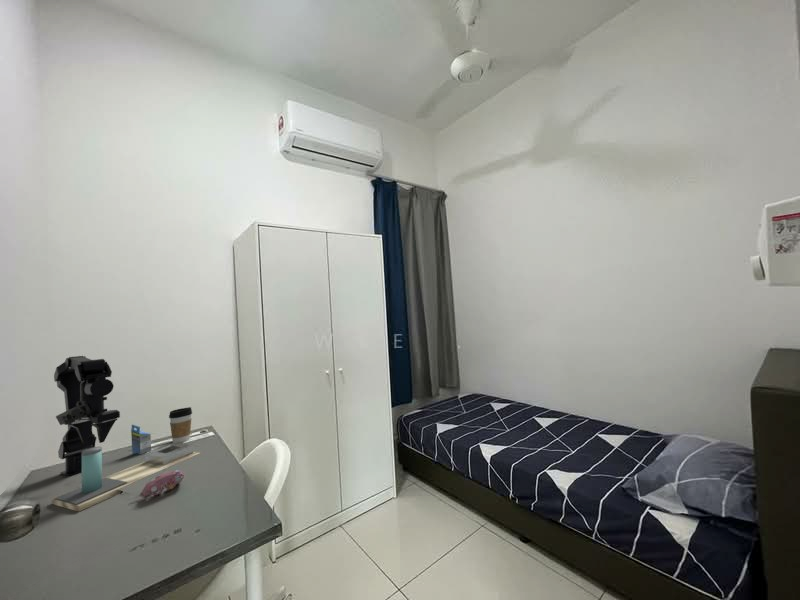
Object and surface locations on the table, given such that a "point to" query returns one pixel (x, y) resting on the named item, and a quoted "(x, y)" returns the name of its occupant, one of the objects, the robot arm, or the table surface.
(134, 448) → the label tape box
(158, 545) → the table surface
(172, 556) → the table surface
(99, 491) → the dark gray rubber pad
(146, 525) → the table surface
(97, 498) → the birch board
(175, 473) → the video game controller
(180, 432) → the coffee cup
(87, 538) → the table surface
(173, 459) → the square metal frame plate
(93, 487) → the teal dowel
